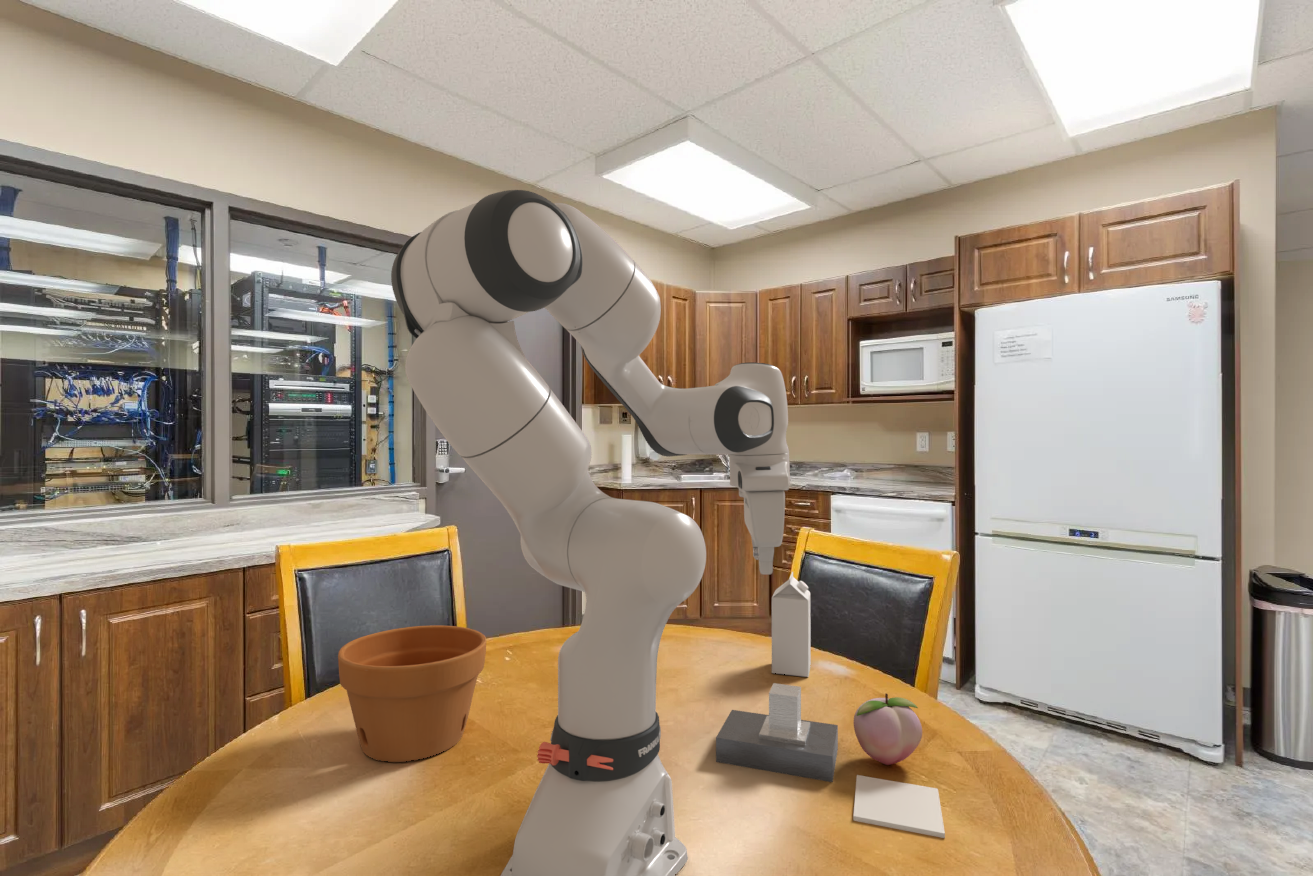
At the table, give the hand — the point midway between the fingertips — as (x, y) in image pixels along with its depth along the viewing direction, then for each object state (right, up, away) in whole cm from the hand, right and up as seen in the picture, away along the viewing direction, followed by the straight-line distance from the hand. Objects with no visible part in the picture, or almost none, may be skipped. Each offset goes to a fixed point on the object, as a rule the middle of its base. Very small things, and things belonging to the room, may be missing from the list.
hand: (762, 565), depth 94 cm
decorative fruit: (+16, -27, -5) cm, 32 cm away
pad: (+14, -27, -15) cm, 34 cm away
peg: (+3, -27, -3) cm, 27 cm away
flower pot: (-53, -27, +2) cm, 59 cm away
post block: (+2, -27, -3) cm, 27 cm away
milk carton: (+11, -28, +32) cm, 44 cm away
